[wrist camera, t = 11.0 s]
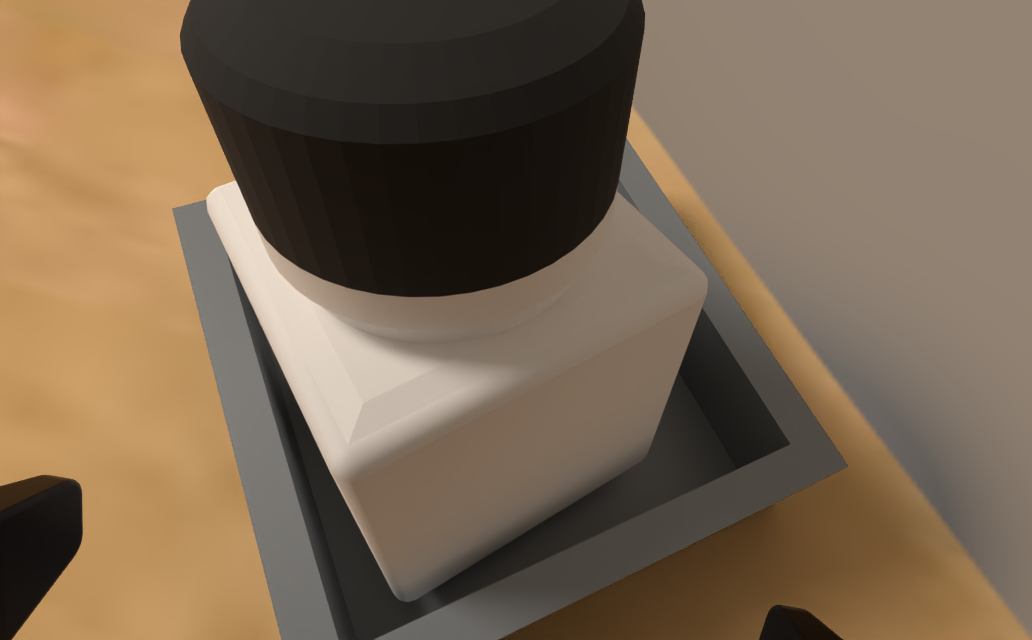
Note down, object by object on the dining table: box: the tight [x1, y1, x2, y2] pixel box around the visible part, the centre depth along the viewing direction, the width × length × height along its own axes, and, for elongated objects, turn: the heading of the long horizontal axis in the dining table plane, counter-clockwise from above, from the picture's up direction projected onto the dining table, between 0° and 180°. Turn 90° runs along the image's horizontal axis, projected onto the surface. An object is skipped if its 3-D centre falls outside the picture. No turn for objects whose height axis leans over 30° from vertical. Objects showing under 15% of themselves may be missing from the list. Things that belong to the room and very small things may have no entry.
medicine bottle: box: [180, 0, 708, 602], centre depth 13 cm, size 7×7×12 cm
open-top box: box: [172, 139, 848, 640], centre depth 18 cm, size 13×13×4 cm
